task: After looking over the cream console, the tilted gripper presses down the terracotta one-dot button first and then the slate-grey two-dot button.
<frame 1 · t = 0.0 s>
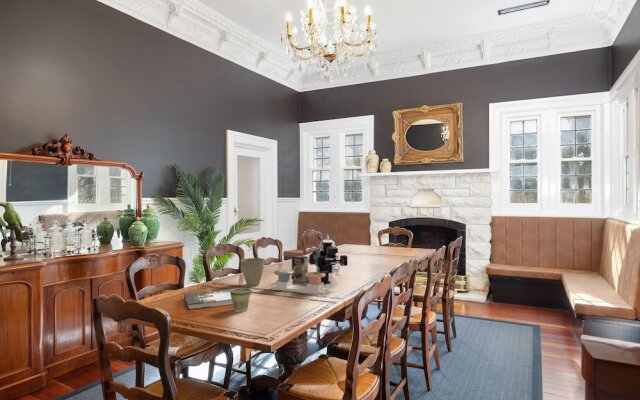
hand: (336, 263, 238), 17 cm above the table, tool horizontal, fingers open, 9 cm apart
key console: (299, 290, 242), on the table
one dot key: (315, 278, 238), point 8 cm above the table, slide at 0.0 cm
two dot key: (284, 276, 246), point 8 cm above the table, slide at 0.0 cm
plant pot: (252, 285, 257), on the table
ceramic cup: (242, 310, 202), on the table
coffee box: (299, 281, 268), on the table
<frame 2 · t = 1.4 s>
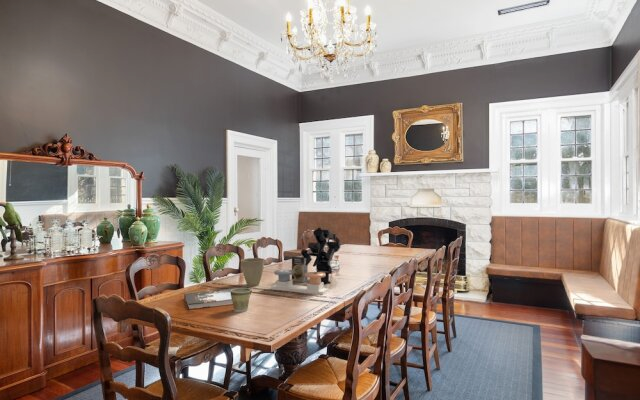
hand: (309, 266, 246), 14 cm above the table, tool tilted 45°, fingers open, 5 cm apart
nothing on the table moved.
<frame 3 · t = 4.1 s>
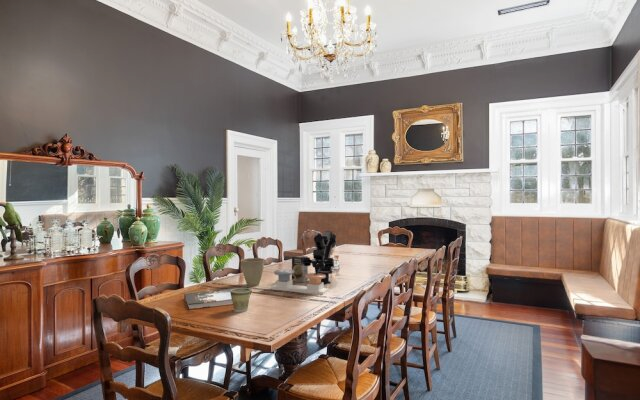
hand: (316, 273, 240), 10 cm above the table, tool tilted 45°, fingers closed
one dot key: (315, 279, 238), point 7 cm above the table, slide at 0.7 cm
everything else where it was.
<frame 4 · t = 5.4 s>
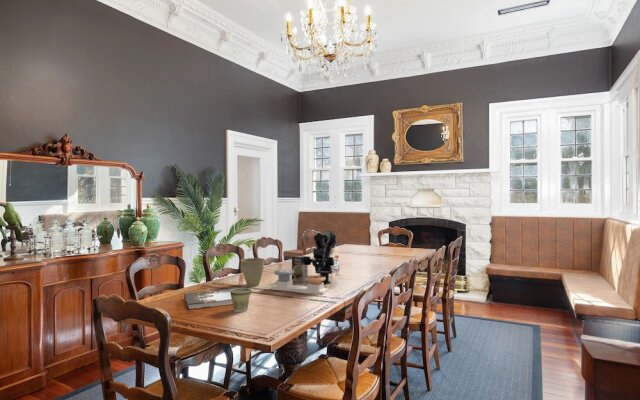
hand: (316, 272, 241), 11 cm above the table, tool tilted 45°, fingers closed
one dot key: (315, 282, 238), point 6 cm above the table, slide at 2.1 cm
everything else where it was.
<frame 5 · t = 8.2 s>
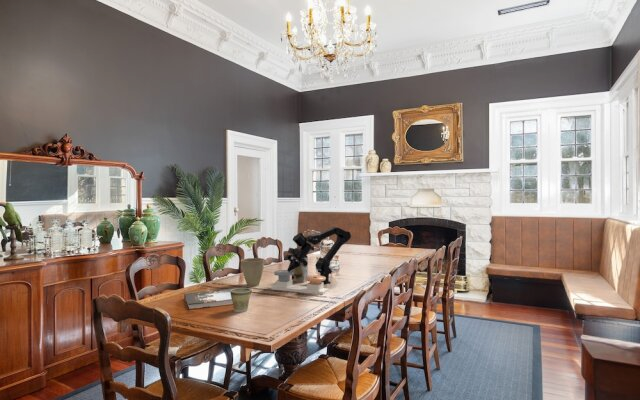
hand: (288, 270, 248), 10 cm above the table, tool tilted 45°, fingers closed, pressing on two dot key
two dot key: (284, 276, 246), point 7 cm above the table, slide at 0.4 cm, touching gripper
everything else where it was.
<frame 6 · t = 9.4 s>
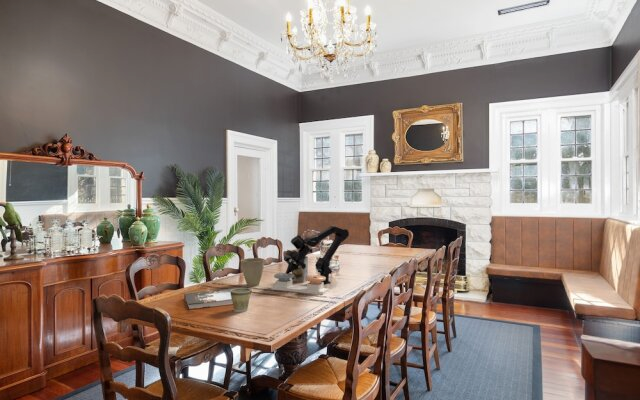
hand: (286, 273, 247), 9 cm above the table, tool tilted 45°, fingers closed
two dot key: (284, 279, 246), point 6 cm above the table, slide at 2.1 cm
everything else where it was.
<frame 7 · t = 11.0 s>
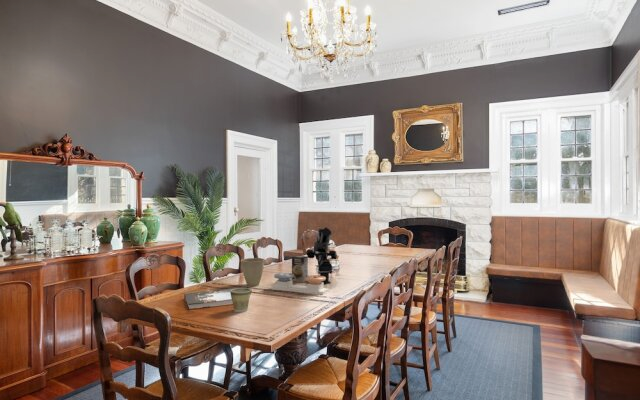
hand: (318, 265, 248), 14 cm above the table, tool tilted 45°, fingers closed
nothing on the table moved.
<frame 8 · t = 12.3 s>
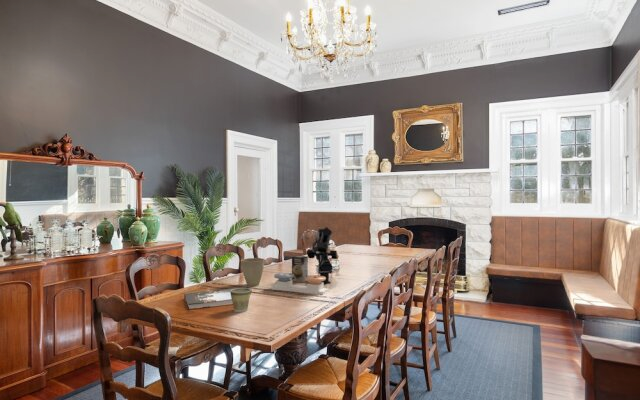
hand: (319, 265, 248), 14 cm above the table, tool tilted 45°, fingers closed
nothing on the table moved.
at the end: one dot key slide at 2.1 cm; two dot key slide at 2.1 cm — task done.
